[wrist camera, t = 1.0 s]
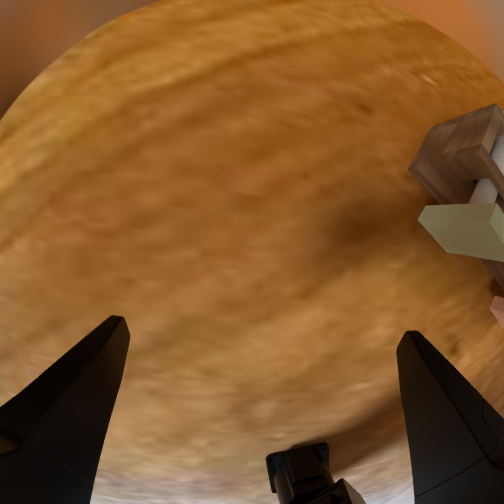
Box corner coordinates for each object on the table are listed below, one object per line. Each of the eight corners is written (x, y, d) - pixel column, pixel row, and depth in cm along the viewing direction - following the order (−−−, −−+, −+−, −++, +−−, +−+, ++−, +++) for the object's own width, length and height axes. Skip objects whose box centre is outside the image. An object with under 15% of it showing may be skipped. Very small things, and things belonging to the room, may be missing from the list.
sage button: (446, 252, 23) (514, 263, 15) (417, 219, 22) (489, 221, 14) (495, 143, 23) (551, 132, 15) (471, 111, 22) (528, 92, 14)
